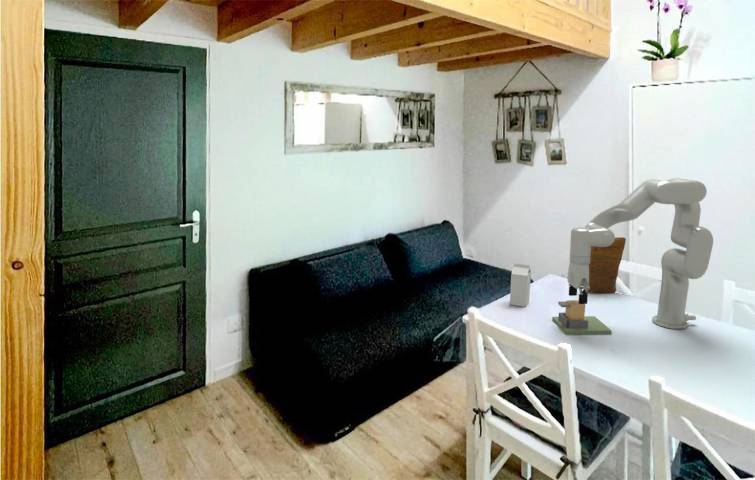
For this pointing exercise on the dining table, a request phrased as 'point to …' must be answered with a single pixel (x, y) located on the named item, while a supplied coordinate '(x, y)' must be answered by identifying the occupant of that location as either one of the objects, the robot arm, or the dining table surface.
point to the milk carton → (520, 285)
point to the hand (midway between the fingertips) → (577, 299)
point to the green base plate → (581, 325)
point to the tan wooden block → (573, 309)
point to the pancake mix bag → (605, 266)
